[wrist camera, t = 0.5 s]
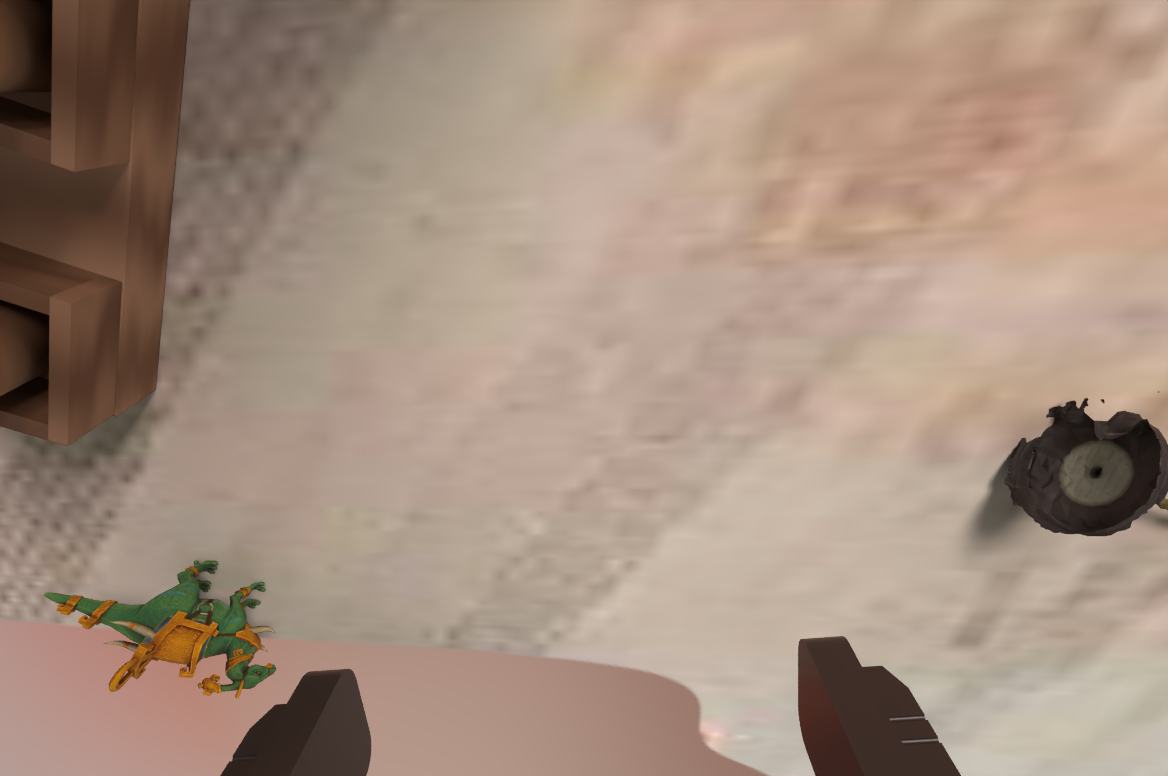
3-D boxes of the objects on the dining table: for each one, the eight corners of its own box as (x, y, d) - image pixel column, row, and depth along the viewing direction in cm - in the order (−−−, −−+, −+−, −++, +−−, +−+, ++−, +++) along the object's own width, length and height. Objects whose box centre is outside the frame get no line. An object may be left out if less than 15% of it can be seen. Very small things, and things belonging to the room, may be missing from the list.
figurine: (300, 628, 41) (232, 751, 33) (102, 554, 38) (-17, 667, 31) (315, 595, 39) (249, 714, 32) (112, 516, 37) (-9, 624, 30)
